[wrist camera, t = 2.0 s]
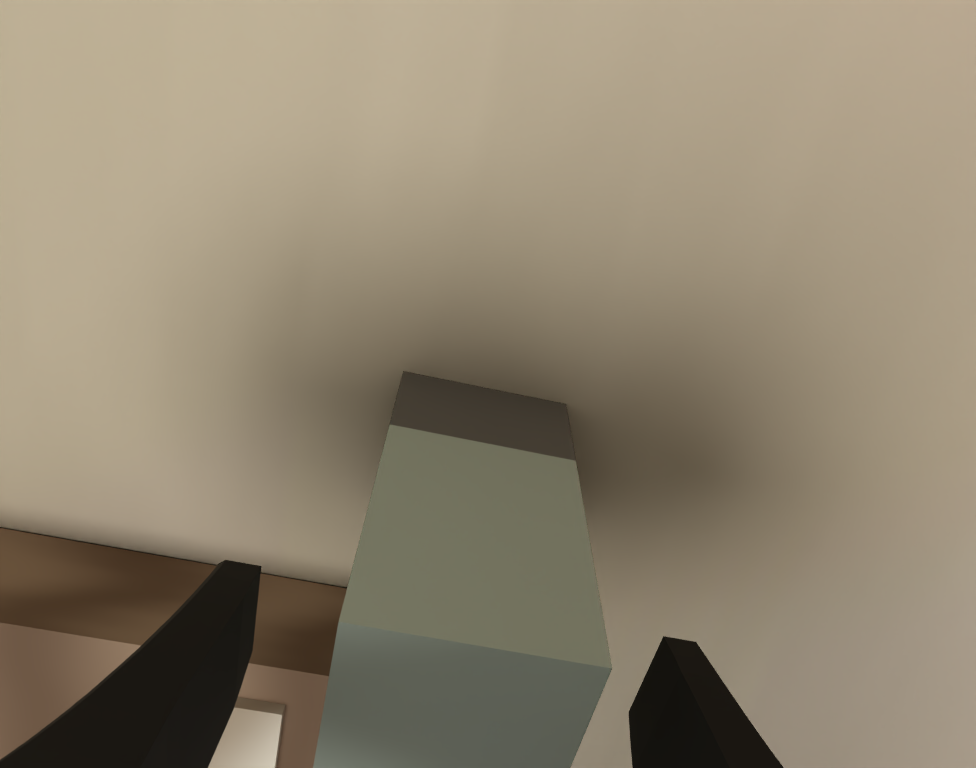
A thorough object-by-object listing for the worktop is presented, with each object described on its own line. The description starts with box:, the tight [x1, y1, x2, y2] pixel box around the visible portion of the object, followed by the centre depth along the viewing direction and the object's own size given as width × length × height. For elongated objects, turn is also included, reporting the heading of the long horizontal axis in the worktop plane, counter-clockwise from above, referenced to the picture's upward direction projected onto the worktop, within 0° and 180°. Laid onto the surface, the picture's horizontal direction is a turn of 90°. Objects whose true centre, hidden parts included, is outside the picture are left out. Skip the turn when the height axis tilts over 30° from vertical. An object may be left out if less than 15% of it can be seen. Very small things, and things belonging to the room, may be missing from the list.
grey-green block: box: [313, 371, 612, 768], centre depth 15 cm, size 4×4×8 cm
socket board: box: [0, 528, 347, 768], centre depth 22 cm, size 16×14×3 cm
